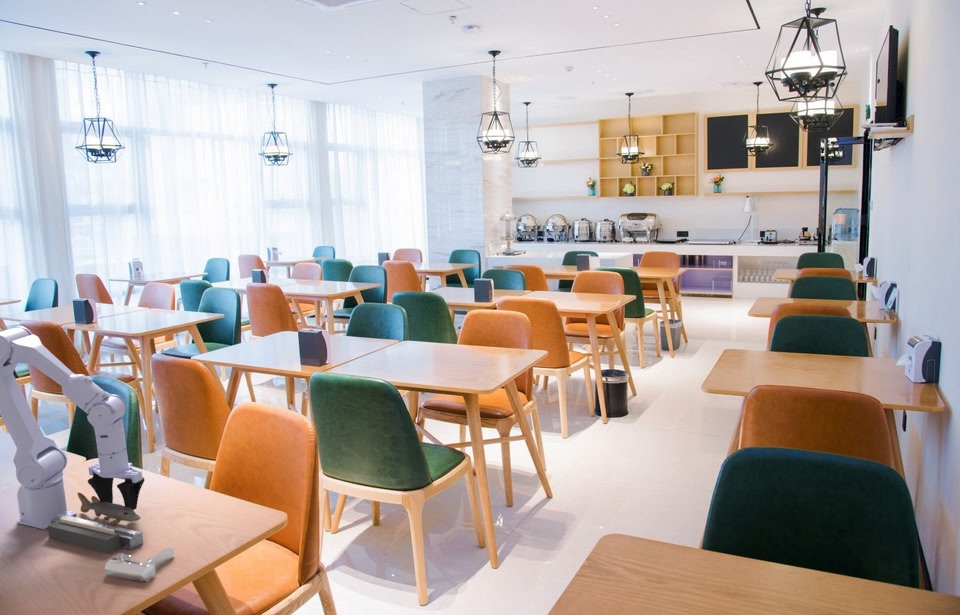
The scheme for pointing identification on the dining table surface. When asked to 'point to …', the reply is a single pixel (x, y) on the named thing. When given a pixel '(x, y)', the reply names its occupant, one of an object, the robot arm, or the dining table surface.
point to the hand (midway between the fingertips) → (119, 507)
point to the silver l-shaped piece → (136, 566)
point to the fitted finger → (84, 535)
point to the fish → (108, 510)
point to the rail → (127, 536)
